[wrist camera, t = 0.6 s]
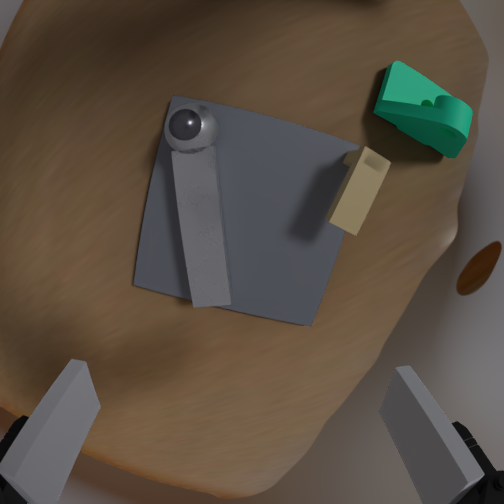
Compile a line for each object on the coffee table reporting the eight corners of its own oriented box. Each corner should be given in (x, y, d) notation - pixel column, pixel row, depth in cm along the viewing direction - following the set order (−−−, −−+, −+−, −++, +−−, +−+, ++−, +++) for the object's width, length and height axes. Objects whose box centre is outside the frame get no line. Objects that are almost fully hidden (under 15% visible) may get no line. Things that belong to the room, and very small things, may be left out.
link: (169, 112, 28) (154, 102, 23) (216, 105, 29) (211, 93, 23) (192, 296, 34) (184, 320, 29) (236, 292, 34) (235, 316, 29)
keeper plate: (175, 98, 30) (158, 81, 22) (364, 150, 32) (394, 148, 25) (137, 280, 35) (115, 307, 28) (309, 321, 38) (323, 354, 30)
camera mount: (455, 109, 30) (506, 102, 20) (443, 157, 32) (495, 161, 22) (385, 63, 29) (428, 37, 19) (369, 114, 31) (413, 99, 21)
